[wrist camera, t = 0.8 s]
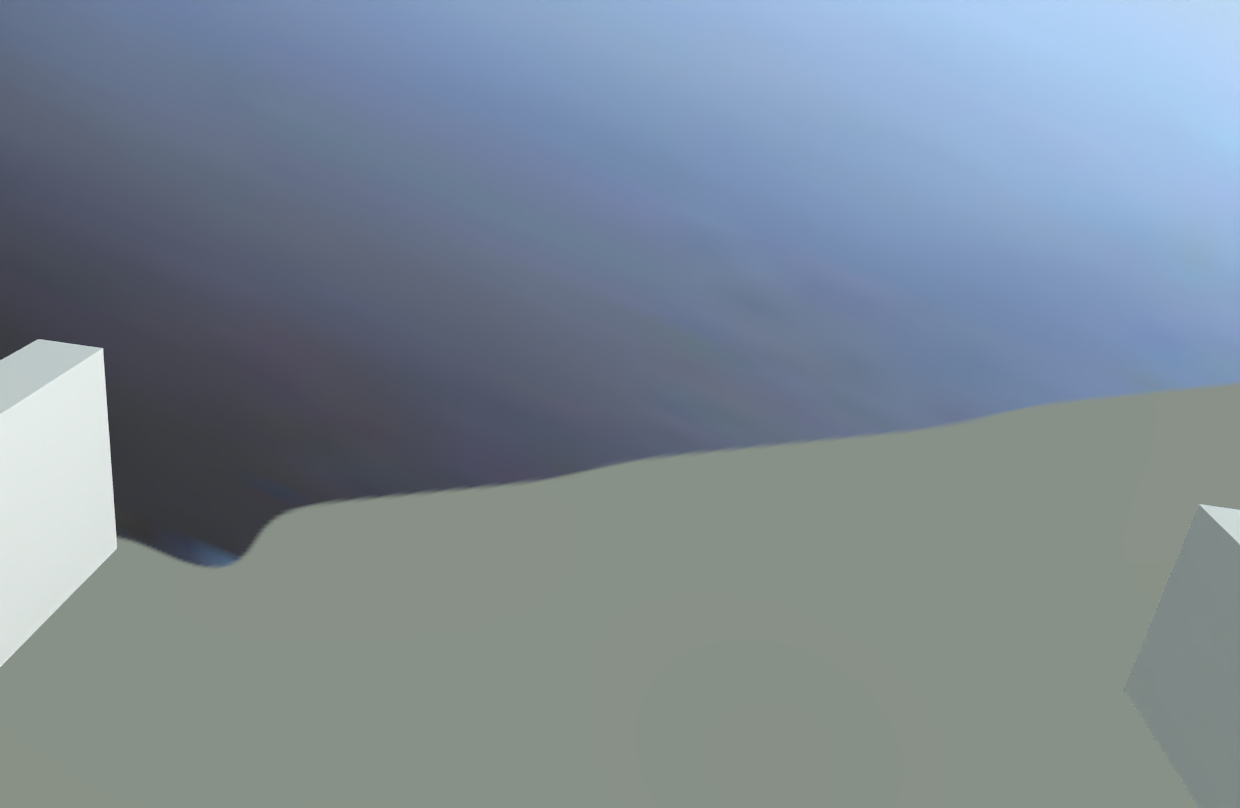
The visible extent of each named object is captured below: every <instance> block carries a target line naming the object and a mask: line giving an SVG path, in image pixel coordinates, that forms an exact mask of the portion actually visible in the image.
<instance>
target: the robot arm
mask: <svg viewBox="0 0 1240 808" xmlns="http://www.w3.org/2000/svg"><path fill="white" fill-rule="evenodd" d="M116 549H117V540H116V526H115V512H114V498H113V484H112V470H111V456H110V442H109V428H108V414H107V400H106V386H105V371H104V357H103V348H97V347H90V346H83V345H76V344H69V343H62V342H55V341H48V340H41V339H38V340H36V341H34V342H32V343H31V344H29V345H27V346H25V347H24V348H22V349H20V350H18V351H16V352H15V353H13V354H11V355H9V356H8V357H6V358H4V359H2V360H0V666H2V665H3V664H4V663H5V662H6V661H7V660H8V659H9V657H11V656H12V655H13V653H15V651H16V650H17V649H18V648H19V647H20V646H21V645H22V644H23V643H24V642H25V641H26V640H27V639H28V638H29V637H30V636H31V635H32V634H33V633H34V632H35V631H36V630H37V629H38V628H39V627H40V626H41V625H42V624H43V623H44V622H45V621H46V620H47V619H48V618H49V617H50V616H51V615H52V614H53V613H54V612H55V611H56V610H57V609H58V608H59V607H60V606H61V605H62V604H63V603H64V602H65V601H66V600H67V598H68V597H70V596H71V594H72V593H74V591H76V590H77V588H78V587H79V586H80V585H81V584H82V583H83V582H84V581H85V580H86V579H87V578H88V577H89V576H90V575H91V574H92V573H93V572H94V571H95V570H96V569H97V568H98V567H99V566H100V565H101V564H102V563H103V562H104V561H105V560H106V559H107V558H108V557H109V556H110V555H111V554H112V553H113V552H114V551H115V550H116ZM1124 692H1125V693H1126V695H1127V696H1128V698H1129V699H1130V701H1131V703H1132V704H1133V706H1134V707H1135V709H1136V711H1137V712H1138V714H1139V715H1140V717H1141V718H1142V720H1143V721H1144V723H1145V725H1146V726H1147V728H1148V729H1149V731H1150V733H1151V734H1152V736H1153V737H1154V739H1155V740H1156V742H1157V744H1158V745H1159V747H1160V748H1161V750H1162V752H1163V753H1164V755H1165V756H1166V758H1167V759H1168V761H1169V762H1170V764H1171V766H1172V767H1173V769H1174V770H1175V772H1176V774H1177V775H1178V777H1179V778H1180V780H1181V781H1182V783H1183V785H1184V786H1185V788H1186V789H1187V791H1188V792H1189V794H1190V796H1191V797H1192V799H1193V800H1194V802H1195V804H1196V805H1197V807H1198V808H1240V510H1236V509H1229V508H1222V507H1215V506H1208V505H1201V504H1199V506H1198V508H1197V511H1196V513H1195V516H1194V518H1193V521H1192V523H1191V526H1190V528H1189V531H1188V533H1187V536H1186V538H1185V540H1184V543H1183V545H1182V548H1181V550H1180V553H1179V555H1178V558H1177V560H1176V563H1175V565H1174V567H1173V570H1172V572H1171V575H1170V578H1169V580H1168V582H1167V585H1166V587H1165V590H1164V592H1163V595H1162V597H1161V599H1160V602H1159V604H1158V607H1157V609H1156V612H1155V614H1154V617H1153V619H1152V622H1151V624H1150V627H1149V629H1148V632H1147V634H1146V637H1145V639H1144V641H1143V644H1142V646H1141V649H1140V651H1139V654H1138V656H1137V659H1136V661H1135V664H1134V666H1133V669H1132V671H1131V673H1130V676H1129V678H1128V681H1127V683H1126V686H1125V688H1124Z"/></svg>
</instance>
